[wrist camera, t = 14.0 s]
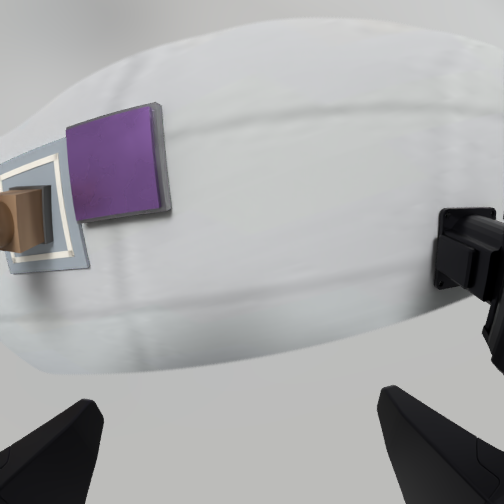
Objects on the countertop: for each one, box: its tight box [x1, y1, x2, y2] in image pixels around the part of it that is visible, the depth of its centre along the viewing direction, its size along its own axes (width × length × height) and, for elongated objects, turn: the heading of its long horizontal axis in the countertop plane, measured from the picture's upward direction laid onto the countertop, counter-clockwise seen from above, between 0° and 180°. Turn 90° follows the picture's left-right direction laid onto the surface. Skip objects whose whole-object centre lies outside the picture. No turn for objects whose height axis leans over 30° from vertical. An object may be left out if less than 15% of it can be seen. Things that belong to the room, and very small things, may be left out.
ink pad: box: [66, 102, 172, 224], centre depth 17 cm, size 7×7×2 cm
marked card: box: [0, 137, 90, 274], centre depth 19 cm, size 10×10×1 cm
